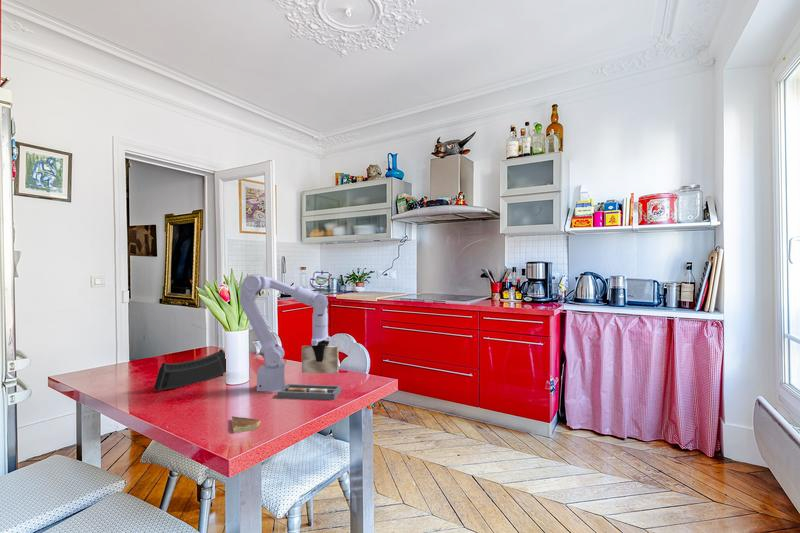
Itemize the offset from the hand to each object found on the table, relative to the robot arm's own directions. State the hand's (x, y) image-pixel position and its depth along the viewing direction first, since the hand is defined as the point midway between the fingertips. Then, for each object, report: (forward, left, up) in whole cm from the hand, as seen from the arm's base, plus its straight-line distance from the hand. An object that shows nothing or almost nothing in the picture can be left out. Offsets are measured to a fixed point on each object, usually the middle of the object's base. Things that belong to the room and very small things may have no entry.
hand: (320, 360), depth 147 cm
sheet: (0, 0, -4) cm, 4 cm away
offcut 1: (-4, -13, -9) cm, 17 cm away
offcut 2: (+3, -13, -9) cm, 17 cm away
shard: (-11, -39, -11) cm, 42 cm away
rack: (0, -11, -10) cm, 15 cm away
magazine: (-51, +1, -10) cm, 52 cm away
